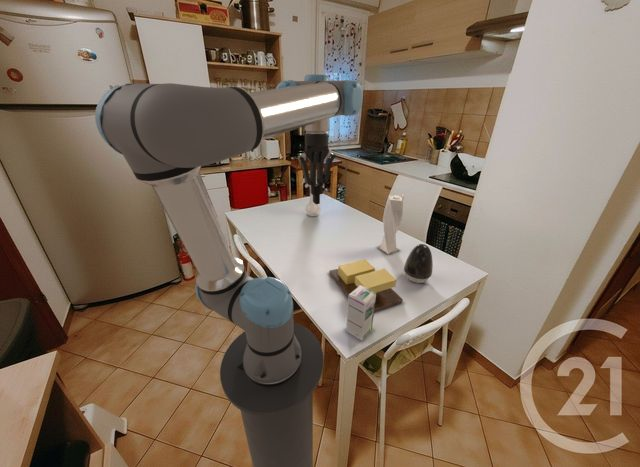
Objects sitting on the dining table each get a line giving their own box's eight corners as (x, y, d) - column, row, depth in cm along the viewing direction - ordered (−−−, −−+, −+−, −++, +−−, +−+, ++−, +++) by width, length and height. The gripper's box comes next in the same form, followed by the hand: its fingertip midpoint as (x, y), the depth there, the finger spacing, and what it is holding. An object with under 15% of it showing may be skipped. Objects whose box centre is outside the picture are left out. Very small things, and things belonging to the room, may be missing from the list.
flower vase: (310, 222, 147) (310, 178, 135) (297, 211, 162) (296, 170, 150) (330, 218, 152) (332, 176, 141) (316, 207, 167) (317, 168, 155)
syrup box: (361, 341, 76) (366, 303, 69) (345, 330, 79) (348, 293, 73) (372, 329, 80) (377, 292, 73) (355, 320, 83) (359, 283, 77)
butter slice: (365, 296, 85) (366, 288, 84) (354, 283, 91) (355, 276, 89) (395, 286, 89) (396, 279, 88) (383, 275, 95) (384, 268, 94)
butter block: (346, 284, 97) (347, 276, 95) (337, 274, 102) (338, 265, 100) (373, 276, 101) (375, 268, 99) (364, 267, 107) (364, 259, 105)
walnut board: (362, 316, 85) (363, 312, 84) (329, 273, 105) (329, 270, 104) (402, 302, 91) (402, 299, 90) (363, 264, 111) (363, 261, 110)
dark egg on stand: (404, 285, 99) (411, 251, 92) (400, 269, 108) (406, 237, 101) (432, 288, 98) (442, 253, 91) (426, 271, 107) (434, 239, 100)
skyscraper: (401, 251, 120) (411, 193, 107) (388, 256, 117) (397, 197, 104) (388, 244, 127) (396, 188, 114) (375, 248, 123) (382, 191, 110)
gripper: (330, 130, 88) (328, 197, 99) (293, 131, 83) (295, 201, 94) (340, 132, 82) (337, 203, 93) (301, 134, 77) (302, 209, 88)
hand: (316, 202), depth 93 cm, fingers closed
